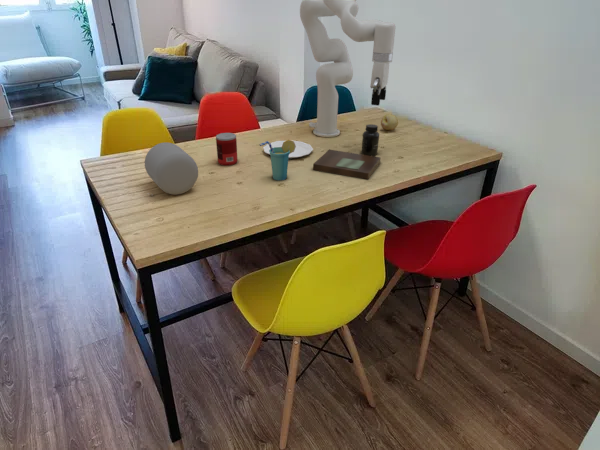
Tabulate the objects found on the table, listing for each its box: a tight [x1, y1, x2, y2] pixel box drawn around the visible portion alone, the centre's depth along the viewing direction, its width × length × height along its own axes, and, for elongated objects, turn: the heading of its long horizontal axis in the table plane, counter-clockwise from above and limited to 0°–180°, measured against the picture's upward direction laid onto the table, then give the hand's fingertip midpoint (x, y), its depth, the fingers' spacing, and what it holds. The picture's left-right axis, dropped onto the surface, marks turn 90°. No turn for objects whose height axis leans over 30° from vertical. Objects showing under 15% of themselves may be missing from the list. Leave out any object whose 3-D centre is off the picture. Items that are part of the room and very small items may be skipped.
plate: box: [262, 139, 314, 159], centre depth 191 cm, size 21×21×2 cm
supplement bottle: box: [360, 123, 380, 156], centre depth 188 cm, size 7×7×12 cm
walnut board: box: [312, 149, 381, 180], centre depth 177 cm, size 22×18×3 cm
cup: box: [259, 139, 296, 181], centre depth 163 cm, size 14×8×15 cm, turn 122°
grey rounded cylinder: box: [144, 142, 199, 196], centre depth 157 cm, size 19×15×25 cm
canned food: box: [215, 132, 238, 167], centre depth 177 cm, size 8×8×11 cm
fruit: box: [380, 113, 399, 132], centre depth 217 cm, size 8×8×8 cm
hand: (378, 102), depth 181 cm, fingers open, 9 cm apart
